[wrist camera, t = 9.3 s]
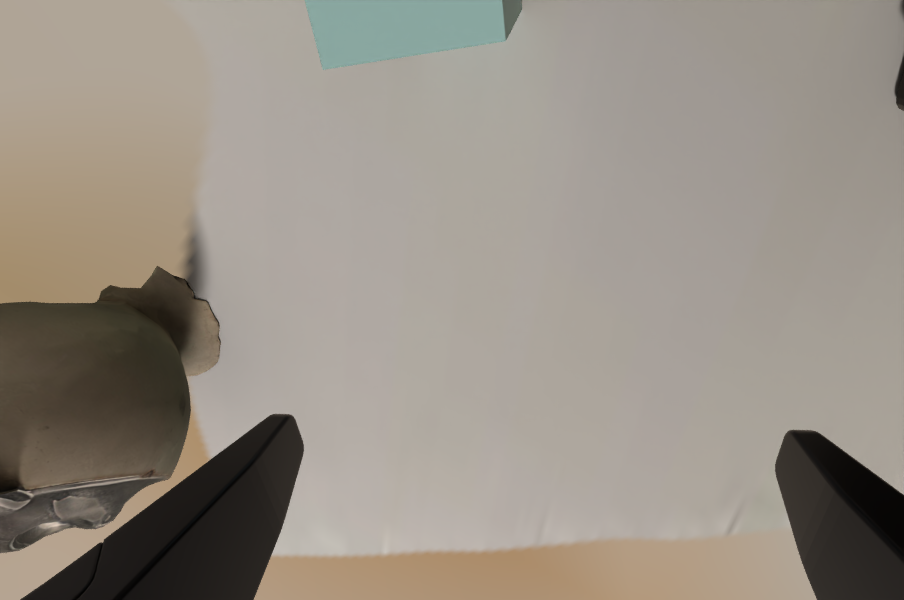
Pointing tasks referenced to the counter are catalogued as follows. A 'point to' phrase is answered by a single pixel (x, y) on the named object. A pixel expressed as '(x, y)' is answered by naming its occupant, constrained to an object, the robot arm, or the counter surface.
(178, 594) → the robot arm
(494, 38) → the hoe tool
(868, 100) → the counter surface
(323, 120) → the counter surface
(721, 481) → the counter surface
